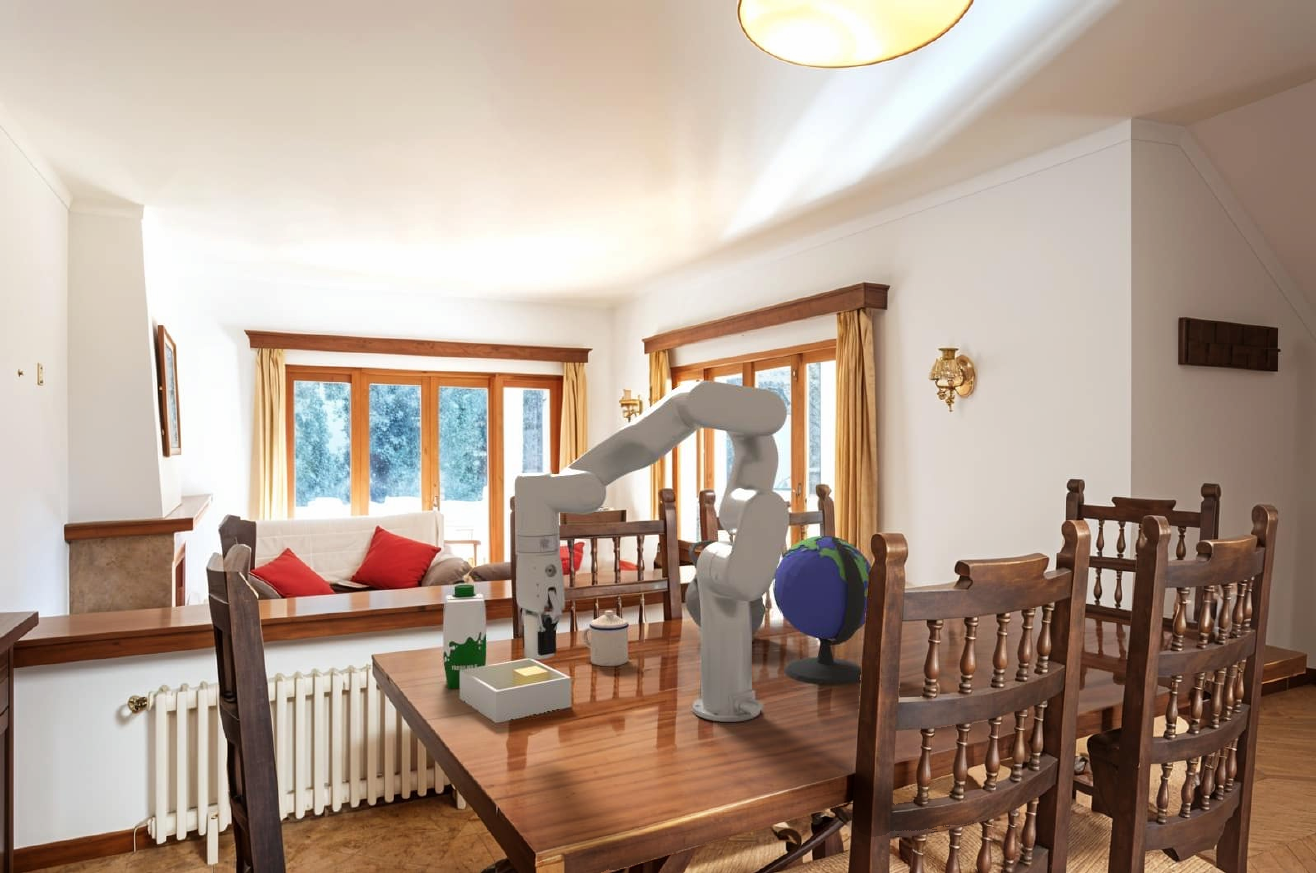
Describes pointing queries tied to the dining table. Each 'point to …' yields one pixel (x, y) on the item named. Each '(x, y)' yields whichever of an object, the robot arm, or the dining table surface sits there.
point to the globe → (823, 603)
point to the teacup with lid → (608, 640)
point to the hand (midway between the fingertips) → (539, 649)
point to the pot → (694, 598)
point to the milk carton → (463, 633)
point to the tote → (513, 691)
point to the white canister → (532, 636)
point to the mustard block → (529, 676)
